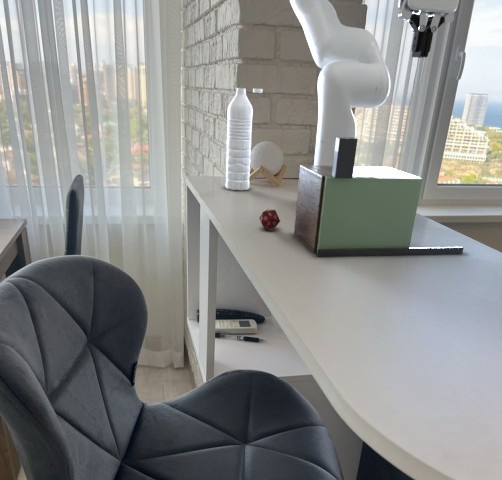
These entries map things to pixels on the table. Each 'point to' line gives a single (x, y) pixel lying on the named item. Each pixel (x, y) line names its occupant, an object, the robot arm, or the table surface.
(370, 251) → the cabinet
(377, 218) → the sliding door
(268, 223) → the dice
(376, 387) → the table surface
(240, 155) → the water bottle
